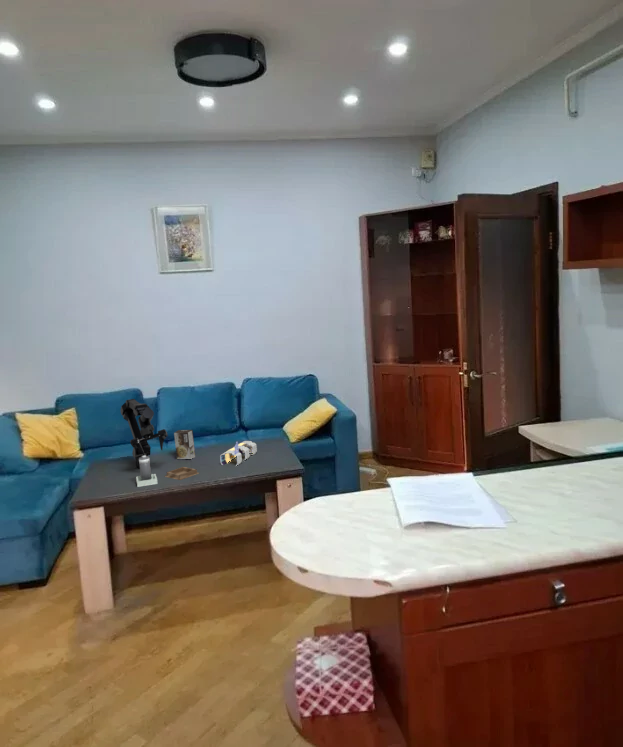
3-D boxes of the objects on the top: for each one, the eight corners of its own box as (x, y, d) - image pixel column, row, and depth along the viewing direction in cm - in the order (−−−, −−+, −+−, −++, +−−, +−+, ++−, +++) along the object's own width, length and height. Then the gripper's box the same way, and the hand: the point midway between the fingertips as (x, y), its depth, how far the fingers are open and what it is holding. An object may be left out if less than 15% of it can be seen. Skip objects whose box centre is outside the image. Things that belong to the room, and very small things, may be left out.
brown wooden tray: (164, 477, 307) (163, 472, 307) (183, 470, 317) (183, 465, 317) (180, 481, 299) (179, 476, 298) (200, 473, 309) (199, 469, 308)
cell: (139, 483, 298) (136, 456, 296) (148, 480, 302) (145, 454, 300) (145, 484, 295) (142, 457, 293) (154, 481, 298) (151, 455, 296)
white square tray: (136, 482, 301) (135, 476, 301) (155, 479, 304) (155, 473, 304) (137, 487, 292) (137, 482, 292) (157, 484, 295) (157, 478, 295)
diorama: (238, 467, 318) (236, 443, 316) (220, 466, 321) (218, 443, 319) (257, 454, 341) (255, 432, 339) (240, 453, 344) (239, 431, 343)
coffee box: (195, 456, 343) (193, 429, 341) (190, 460, 337) (188, 432, 335) (181, 456, 345) (178, 429, 343) (176, 459, 339) (173, 432, 337)
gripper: (124, 427, 305) (131, 455, 300) (160, 415, 308) (168, 443, 303) (129, 433, 315) (136, 460, 310) (164, 422, 319) (171, 448, 313)
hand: (153, 453), depth 309 cm, fingers open, 9 cm apart
